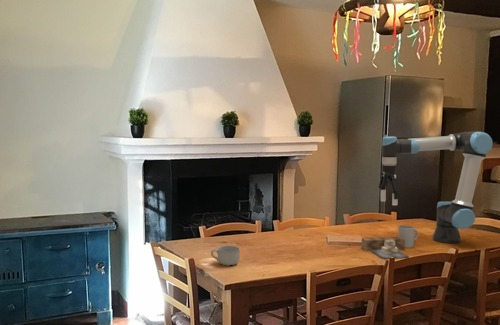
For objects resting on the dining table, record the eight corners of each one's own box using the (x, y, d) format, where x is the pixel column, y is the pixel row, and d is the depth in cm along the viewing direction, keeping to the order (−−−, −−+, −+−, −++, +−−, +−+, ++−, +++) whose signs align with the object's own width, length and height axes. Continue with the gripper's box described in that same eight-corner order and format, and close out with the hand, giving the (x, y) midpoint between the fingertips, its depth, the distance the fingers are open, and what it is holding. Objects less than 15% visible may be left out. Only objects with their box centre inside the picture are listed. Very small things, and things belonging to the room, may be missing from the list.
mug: (404, 248, 259) (405, 228, 258) (394, 245, 267) (395, 225, 266) (422, 246, 263) (422, 227, 263) (411, 243, 271) (412, 224, 271)
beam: (399, 247, 263) (399, 236, 263) (404, 250, 257) (404, 239, 257) (361, 248, 260) (361, 237, 259) (365, 251, 254) (366, 240, 253)
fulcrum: (395, 250, 254) (396, 237, 254) (408, 258, 241) (409, 243, 240) (371, 251, 252) (371, 237, 251) (382, 259, 238) (383, 244, 238)
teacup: (239, 261, 233) (239, 245, 233) (240, 267, 223) (240, 250, 222) (211, 261, 233) (211, 245, 232) (210, 267, 222) (210, 250, 221)
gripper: (372, 163, 271) (372, 200, 273) (393, 166, 247) (393, 207, 248) (384, 162, 272) (384, 199, 274) (407, 166, 248) (406, 206, 250)
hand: (388, 203), depth 261 cm, fingers open, 13 cm apart
